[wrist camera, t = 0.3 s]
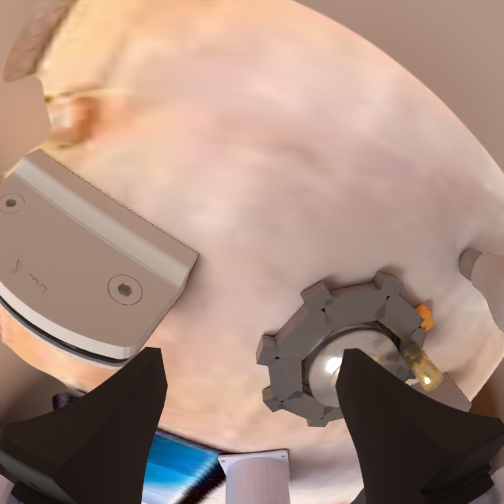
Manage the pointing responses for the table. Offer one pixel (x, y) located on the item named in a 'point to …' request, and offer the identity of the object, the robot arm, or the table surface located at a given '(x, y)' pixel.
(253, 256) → the table surface
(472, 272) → the lightbulb
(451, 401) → the marked link
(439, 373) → the sprocket
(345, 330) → the hub
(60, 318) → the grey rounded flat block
